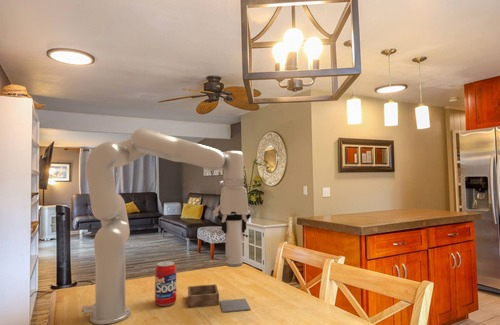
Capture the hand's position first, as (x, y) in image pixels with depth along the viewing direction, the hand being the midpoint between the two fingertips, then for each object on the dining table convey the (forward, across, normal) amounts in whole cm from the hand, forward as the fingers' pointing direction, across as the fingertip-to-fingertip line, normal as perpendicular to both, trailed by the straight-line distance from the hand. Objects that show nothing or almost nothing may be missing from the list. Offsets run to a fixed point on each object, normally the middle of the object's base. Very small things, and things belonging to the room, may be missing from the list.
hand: (234, 232), depth 122 cm
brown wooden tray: (+27, -11, +8) cm, 30 cm away
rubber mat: (+27, 0, 0) cm, 27 cm away
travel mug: (+12, 0, 0) cm, 12 cm away
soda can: (+27, -25, +8) cm, 38 cm away
